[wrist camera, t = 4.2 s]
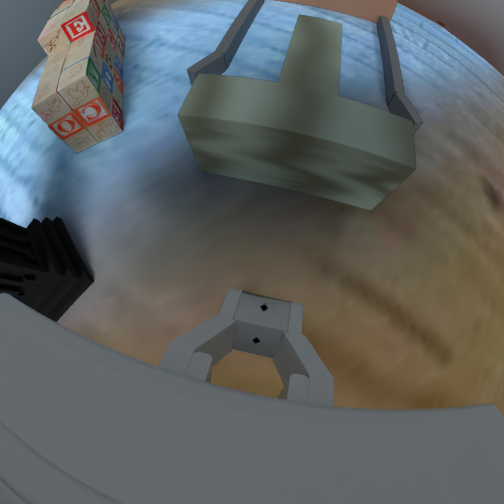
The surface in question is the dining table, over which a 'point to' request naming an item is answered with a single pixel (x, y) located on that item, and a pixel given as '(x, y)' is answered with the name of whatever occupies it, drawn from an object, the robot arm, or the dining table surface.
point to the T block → (299, 126)
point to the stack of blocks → (82, 74)
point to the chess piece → (41, 266)
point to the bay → (352, 3)
